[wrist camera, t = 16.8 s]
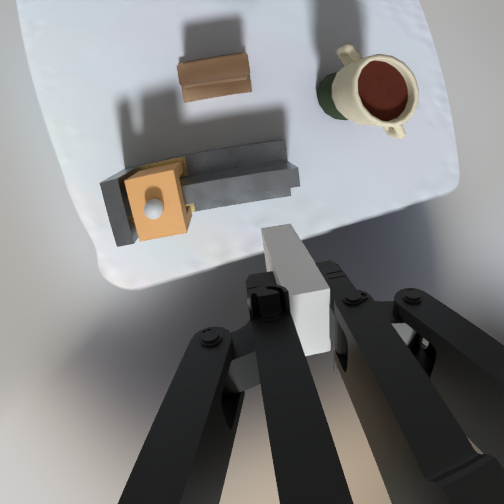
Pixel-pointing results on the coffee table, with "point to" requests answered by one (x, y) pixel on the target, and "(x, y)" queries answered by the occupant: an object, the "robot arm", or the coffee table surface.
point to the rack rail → (209, 182)
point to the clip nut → (158, 202)
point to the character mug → (370, 91)
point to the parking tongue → (214, 77)
